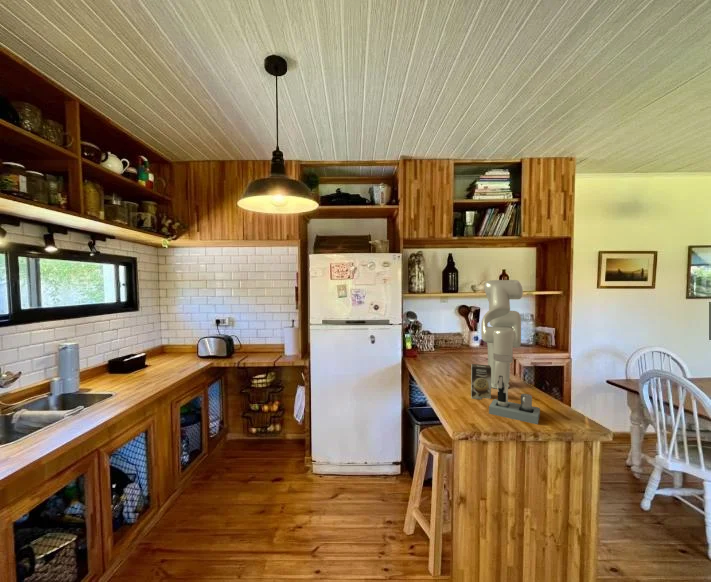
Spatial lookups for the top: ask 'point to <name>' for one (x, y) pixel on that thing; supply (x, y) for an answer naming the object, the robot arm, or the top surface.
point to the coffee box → (480, 381)
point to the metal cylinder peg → (526, 403)
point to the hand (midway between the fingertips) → (502, 399)
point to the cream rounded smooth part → (506, 398)
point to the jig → (514, 412)
